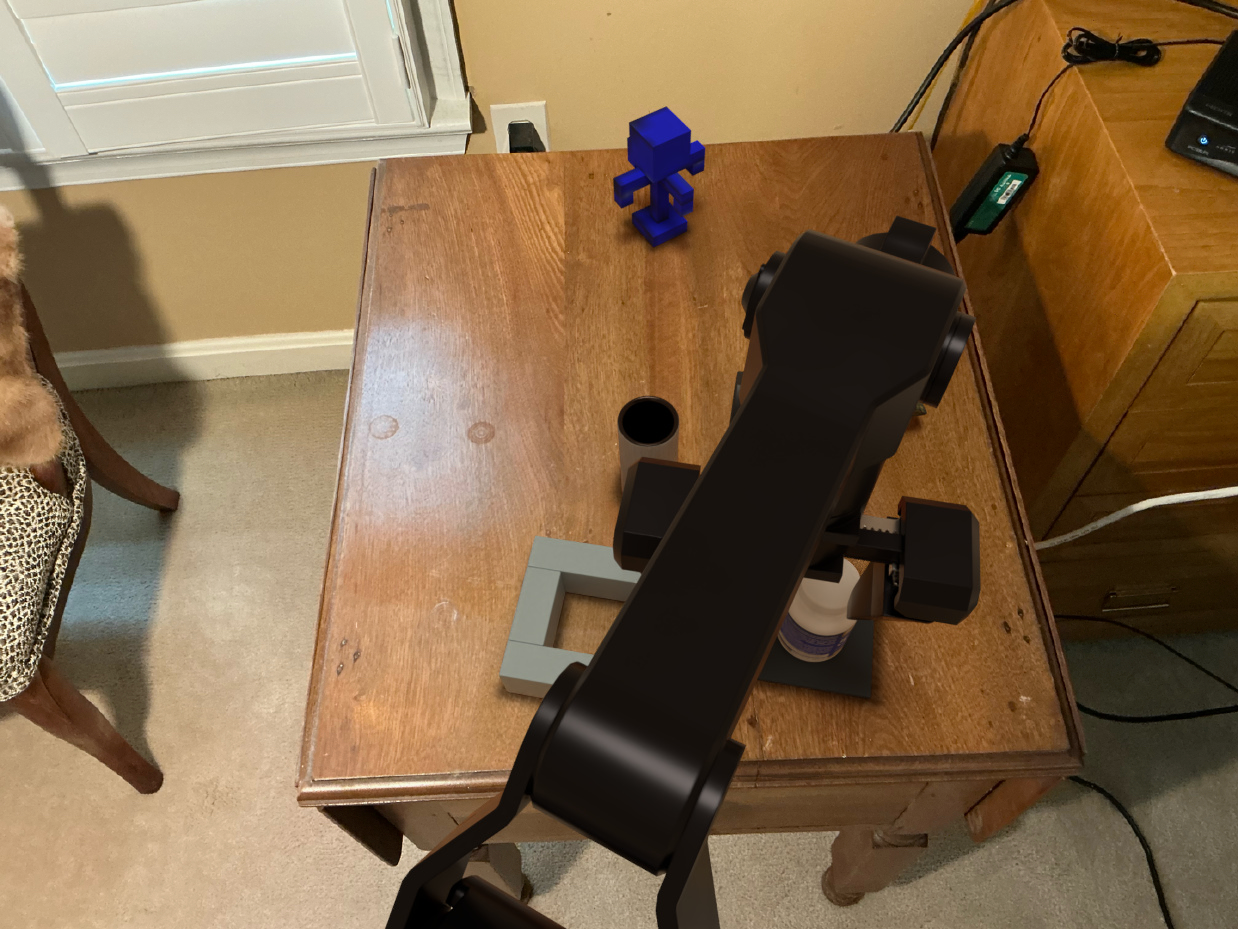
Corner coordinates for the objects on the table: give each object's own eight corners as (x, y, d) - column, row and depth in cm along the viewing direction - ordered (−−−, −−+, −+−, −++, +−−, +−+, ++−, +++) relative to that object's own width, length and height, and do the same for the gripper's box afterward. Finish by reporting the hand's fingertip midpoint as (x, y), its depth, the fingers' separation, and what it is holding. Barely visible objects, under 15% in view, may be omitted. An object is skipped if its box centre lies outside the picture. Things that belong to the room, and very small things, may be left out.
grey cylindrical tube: (670, 518, 71) (672, 451, 63) (616, 508, 72) (610, 440, 63) (681, 471, 74) (684, 400, 65) (628, 461, 74) (625, 390, 66)
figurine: (703, 206, 90) (709, 104, 80) (689, 260, 86) (693, 160, 76) (631, 196, 91) (628, 94, 81) (613, 248, 87) (608, 148, 77)
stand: (654, 718, 63) (654, 702, 60) (506, 692, 65) (498, 675, 61) (677, 578, 69) (678, 556, 65) (540, 557, 70) (534, 534, 67)
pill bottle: (844, 669, 64) (869, 625, 57) (772, 657, 65) (787, 612, 57) (848, 601, 67) (872, 551, 59) (778, 591, 67) (794, 539, 60)
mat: (869, 699, 63) (870, 697, 63) (744, 678, 64) (745, 676, 64) (874, 584, 68) (875, 582, 68) (757, 567, 69) (757, 565, 69)
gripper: (1015, 358, 44) (930, 509, 57) (647, 310, 46) (647, 467, 60) (1025, 556, 38) (928, 674, 51) (605, 491, 41) (615, 619, 54)
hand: (774, 599), depth 54 cm, fingers open, 9 cm apart
